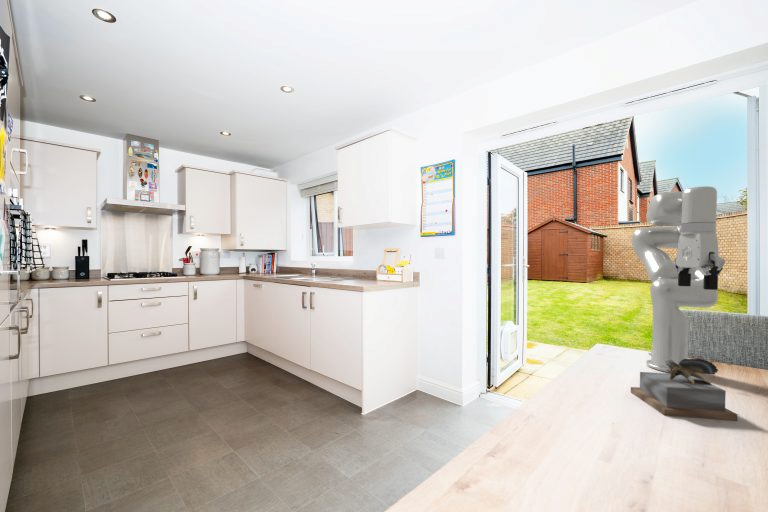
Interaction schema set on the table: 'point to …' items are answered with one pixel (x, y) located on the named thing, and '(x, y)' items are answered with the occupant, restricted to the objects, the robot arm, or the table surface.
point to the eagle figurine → (691, 368)
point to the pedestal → (682, 396)
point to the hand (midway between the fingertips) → (696, 287)
